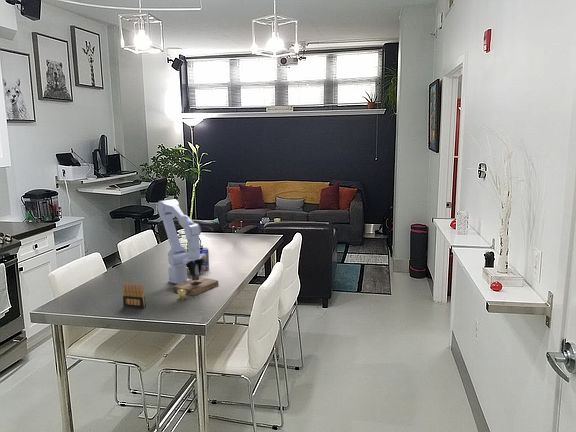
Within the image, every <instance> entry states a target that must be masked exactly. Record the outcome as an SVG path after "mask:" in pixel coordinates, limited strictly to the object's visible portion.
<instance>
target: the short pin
mask: <svg viewBox="0 0 576 432" xmlns="http://www.w3.org/2000/svg"><path fill="white" fill-rule="evenodd" d="M177 298H178V299H177V300H178V301H185V300H186V299H187V294H186V290H185V289H178V292H177Z"/></svg>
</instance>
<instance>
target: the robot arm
mask: <svg viewBox="0 0 576 432" xmlns="http://www.w3.org/2000/svg"><path fill="white" fill-rule="evenodd" d="M156 208H157V212H158V215H159V218H161V220H162V223H163V226H164V229H165V232H166V235H167V239H168V242H169V246H170V249H169V251H168V252H167V260H168V264H169V266H168V269H167V271H168V272H167V273H168V280H167V282H168V283H172V284H175V285H178V284H180V283H183V282H185V281H188V280H191V279H192V278H191V279H190V278H188V271H189V275H190V276H191V277H192V276H195V265H196V263H198V267H199V275H200V274H201V272H202V271H201V267H202V264H203V262H204V259H202V258H205V257H206V254H204V253H202V254H200V248H201V247H200V246H201V245H200V235H201V233H202V228H201V226H200V224H199V223H196V222H194V221H193V220H192V219H191V218H190V217H189V216H188V215H186V214H184V212H183V211H182V209H181V208H180V203H179V201H178V200H177V199H176V198H174V199H167V200H159V201H158V202H157V206H156ZM174 217H176V218H177V219H178V224H179V225H180V226H181V227H182V229H184V231H183V233H184V235H185V238H186V240H187V248H185V247H184V246H182V245H181V242H180V239H179V235H178V232H177V229H176V226H175V222H174V219H173V218H174ZM193 261H194V263H193Z"/></svg>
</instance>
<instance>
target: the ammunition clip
mask: <svg viewBox="0 0 576 432" xmlns="http://www.w3.org/2000/svg"><path fill="white" fill-rule="evenodd" d="M122 286H123V287H122V294H123V295H122V305H123V306H124V308H137V309H145V308H146V307H147V306H146V298H145V297H146V296H145V292H144V286H143V283H142V282H140V284H139V281H136V282H135V281H133V282H132V281H130V283H129V281H128V280H126V281H125V280H123V284H122Z"/></svg>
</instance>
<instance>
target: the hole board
mask: <svg viewBox="0 0 576 432" xmlns="http://www.w3.org/2000/svg"><path fill="white" fill-rule="evenodd" d="M216 285H218V286H219V280H218V279H212V278H206V277H202V276H199V280H192V278H191V280H188V281H185V282H183V283H180V284H175V285H173V286H172V291H173V292H176V293H178V289H185V290H186V295H189V296H196V295H198V294H201V293H203V292H206V291H208V290H210V288H211V289H213V288H215V287H217V286H216ZM214 286H215V287H214ZM212 287H213V288H212Z"/></svg>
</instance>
